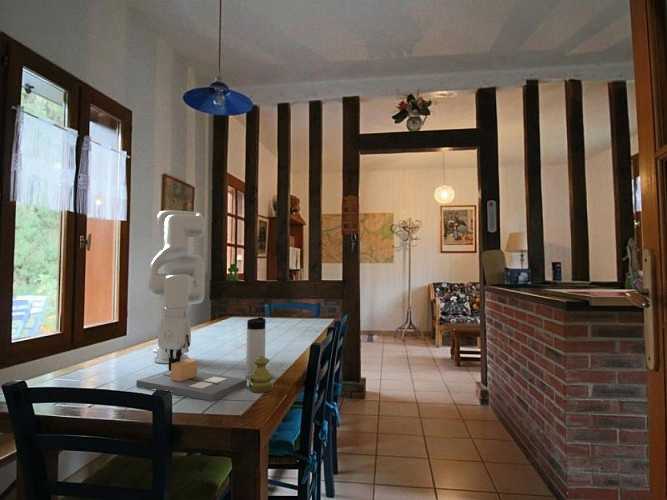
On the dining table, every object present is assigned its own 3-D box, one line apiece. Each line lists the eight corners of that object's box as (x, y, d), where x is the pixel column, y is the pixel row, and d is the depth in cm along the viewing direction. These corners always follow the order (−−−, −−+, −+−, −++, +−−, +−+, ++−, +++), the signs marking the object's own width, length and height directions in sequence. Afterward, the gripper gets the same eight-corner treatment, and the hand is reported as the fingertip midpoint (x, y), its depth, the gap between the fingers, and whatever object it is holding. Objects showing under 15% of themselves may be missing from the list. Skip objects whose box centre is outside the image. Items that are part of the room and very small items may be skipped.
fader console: (136, 386, 121) (136, 379, 121) (176, 373, 136) (176, 367, 136) (211, 401, 109) (212, 393, 109) (246, 385, 123) (246, 378, 123)
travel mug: (268, 375, 135) (269, 317, 136) (258, 380, 129) (260, 320, 129) (252, 373, 137) (253, 316, 138) (242, 378, 131) (243, 319, 132)
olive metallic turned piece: (259, 384, 125) (260, 353, 125) (277, 388, 121) (278, 355, 122) (243, 390, 119) (244, 357, 119) (262, 394, 115) (262, 360, 115)
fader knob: (170, 379, 121) (171, 363, 121) (187, 374, 128) (188, 358, 128) (180, 381, 120) (181, 365, 120) (197, 375, 126) (197, 360, 126)
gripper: (149, 312, 126) (147, 370, 125) (184, 315, 120) (182, 375, 119) (168, 310, 133) (166, 364, 132) (201, 313, 126) (200, 370, 126)
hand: (174, 369), depth 125 cm, fingers closed
